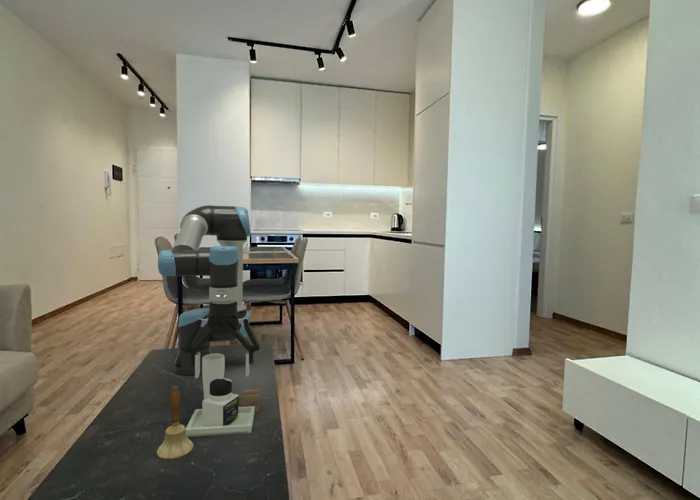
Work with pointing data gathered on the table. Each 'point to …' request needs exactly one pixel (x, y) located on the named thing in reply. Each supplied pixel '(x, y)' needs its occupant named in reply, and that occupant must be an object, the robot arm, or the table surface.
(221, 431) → the tray
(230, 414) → the medicine bottle
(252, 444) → the table surface
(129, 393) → the table surface
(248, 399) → the walnut block
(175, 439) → the hand bell
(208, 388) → the drinking glass
